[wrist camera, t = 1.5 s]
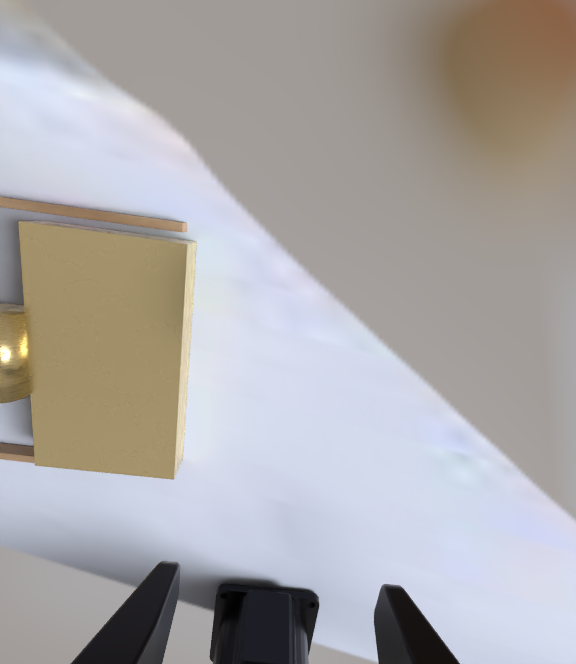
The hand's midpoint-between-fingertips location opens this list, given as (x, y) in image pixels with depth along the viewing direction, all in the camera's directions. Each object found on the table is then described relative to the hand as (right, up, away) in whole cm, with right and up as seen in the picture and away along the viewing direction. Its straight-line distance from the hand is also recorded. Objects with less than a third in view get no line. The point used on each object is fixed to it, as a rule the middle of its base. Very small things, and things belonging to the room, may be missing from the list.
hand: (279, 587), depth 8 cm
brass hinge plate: (-10, +5, +11) cm, 15 cm away
